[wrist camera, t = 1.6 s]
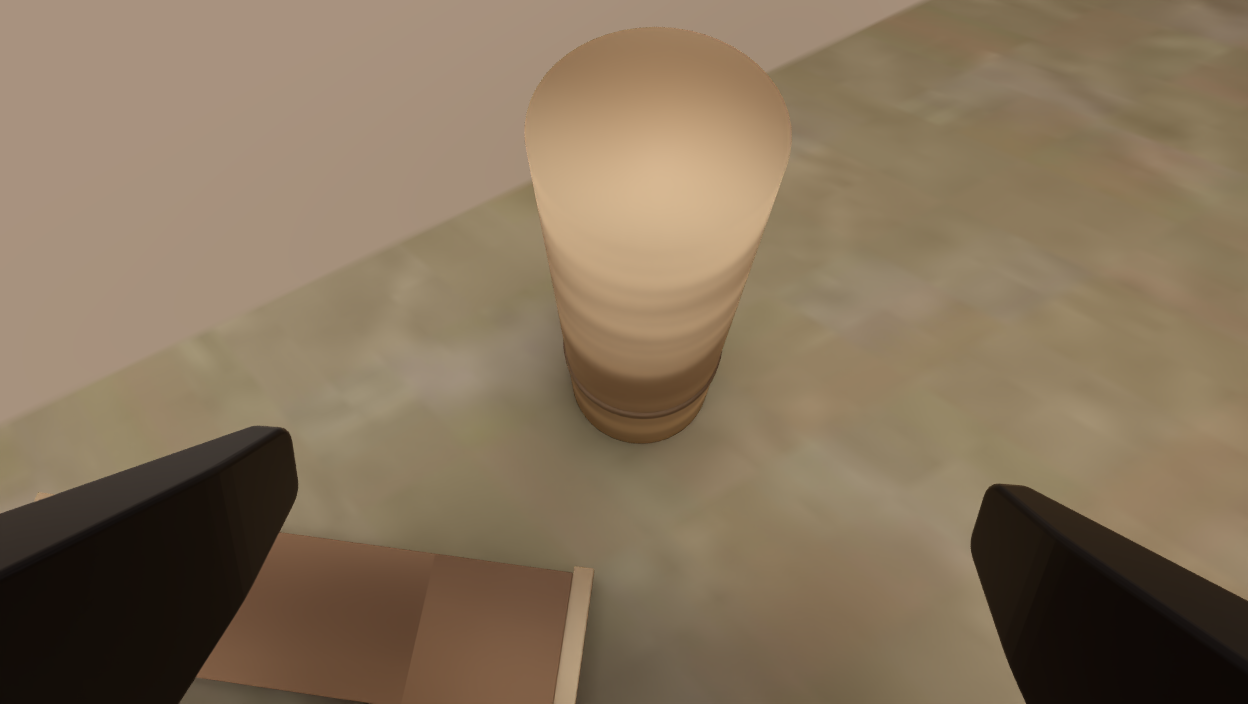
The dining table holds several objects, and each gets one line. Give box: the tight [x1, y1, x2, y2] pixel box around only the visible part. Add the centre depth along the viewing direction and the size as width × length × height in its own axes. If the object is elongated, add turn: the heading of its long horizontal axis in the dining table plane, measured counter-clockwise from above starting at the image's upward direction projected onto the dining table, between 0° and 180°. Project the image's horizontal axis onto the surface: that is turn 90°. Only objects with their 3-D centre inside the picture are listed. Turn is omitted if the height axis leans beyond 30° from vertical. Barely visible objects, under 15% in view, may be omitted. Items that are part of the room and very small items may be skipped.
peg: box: [525, 27, 792, 444], centre depth 17 cm, size 4×4×12 cm
